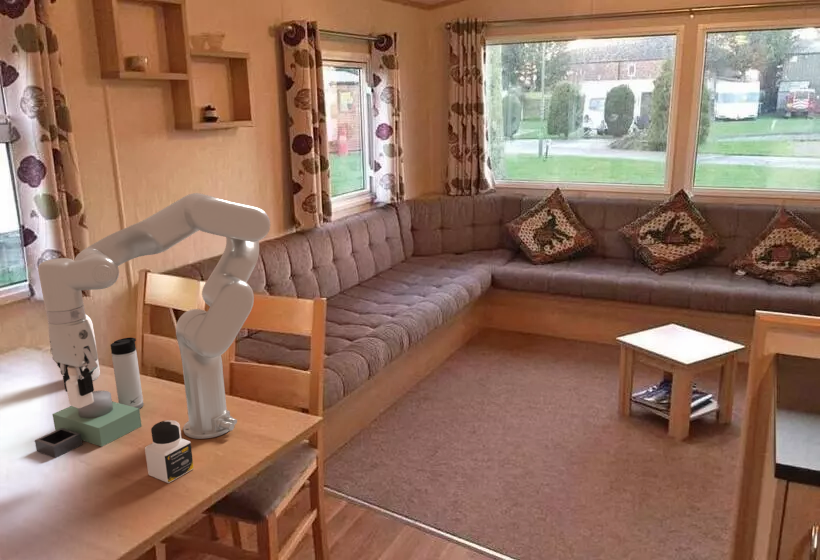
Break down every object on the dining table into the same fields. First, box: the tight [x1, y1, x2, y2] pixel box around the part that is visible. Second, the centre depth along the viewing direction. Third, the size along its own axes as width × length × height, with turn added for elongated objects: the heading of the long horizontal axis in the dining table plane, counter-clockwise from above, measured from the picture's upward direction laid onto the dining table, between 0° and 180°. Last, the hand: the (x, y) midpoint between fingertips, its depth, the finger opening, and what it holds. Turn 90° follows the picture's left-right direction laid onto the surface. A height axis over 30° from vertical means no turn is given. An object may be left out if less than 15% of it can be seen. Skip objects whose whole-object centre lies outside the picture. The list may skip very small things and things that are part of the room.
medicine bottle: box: [144, 419, 194, 484], centre depth 148 cm, size 7×7×12 cm
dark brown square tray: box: [34, 428, 83, 459], centre depth 161 cm, size 7×7×3 cm
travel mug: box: [110, 337, 144, 410], centre depth 181 cm, size 6×7×20 cm
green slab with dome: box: [52, 390, 143, 448], centre depth 170 cm, size 18×12×9 cm, turn 62°
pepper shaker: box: [66, 365, 94, 408], centre depth 149 cm, size 4×4×10 cm
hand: (79, 390), depth 149 cm, fingers closed on pepper shaker, 4 cm apart
